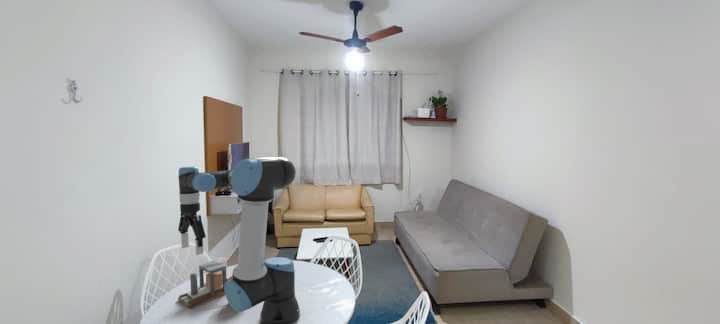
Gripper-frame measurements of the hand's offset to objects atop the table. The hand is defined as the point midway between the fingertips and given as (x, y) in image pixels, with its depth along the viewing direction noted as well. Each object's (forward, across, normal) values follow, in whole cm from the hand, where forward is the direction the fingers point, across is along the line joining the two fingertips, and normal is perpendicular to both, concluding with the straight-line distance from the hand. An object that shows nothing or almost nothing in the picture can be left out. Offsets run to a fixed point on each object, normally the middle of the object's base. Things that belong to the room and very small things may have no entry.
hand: (192, 250), depth 138 cm
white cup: (+22, +12, -18) cm, 31 cm away
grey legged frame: (+22, 0, -6) cm, 23 cm away
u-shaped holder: (+21, 0, -6) cm, 21 cm away
